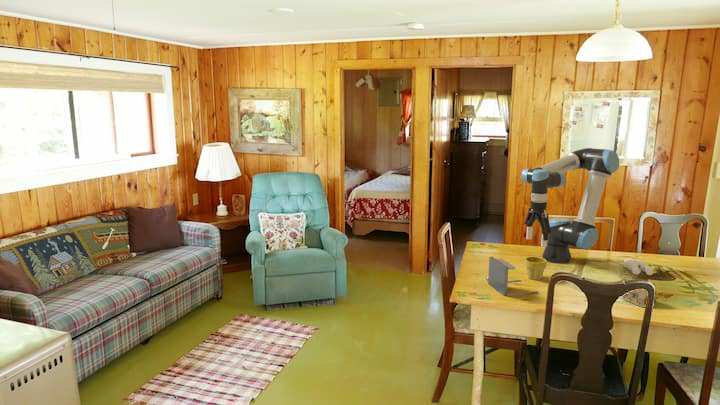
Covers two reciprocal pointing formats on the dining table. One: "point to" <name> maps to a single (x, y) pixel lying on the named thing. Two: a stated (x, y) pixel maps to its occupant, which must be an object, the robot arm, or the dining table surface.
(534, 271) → the plant pot
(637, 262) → the binoculars
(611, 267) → the dining table surface
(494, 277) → the bracket
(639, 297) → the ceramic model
